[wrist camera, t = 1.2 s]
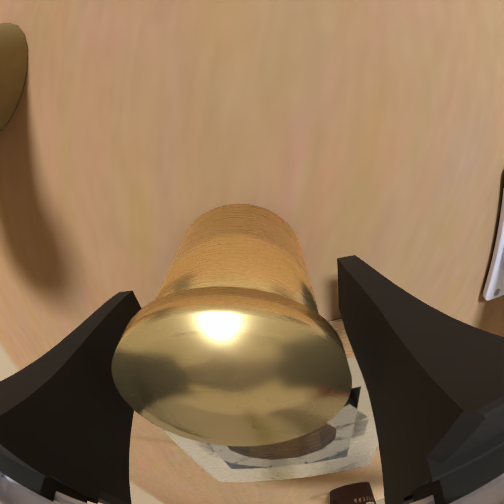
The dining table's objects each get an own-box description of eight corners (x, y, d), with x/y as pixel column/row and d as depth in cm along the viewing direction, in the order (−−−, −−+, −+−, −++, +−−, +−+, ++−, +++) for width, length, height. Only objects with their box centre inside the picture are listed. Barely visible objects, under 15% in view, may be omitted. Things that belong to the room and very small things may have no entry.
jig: (396, 307, 13) (414, 342, 11) (363, 443, 22) (368, 465, 19) (132, 343, 15) (118, 378, 12) (220, 460, 23) (218, 481, 21)
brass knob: (302, 181, 10) (358, 289, 5) (316, 305, 13) (345, 433, 7) (152, 210, 11) (67, 324, 5) (194, 322, 14) (168, 445, 8)
